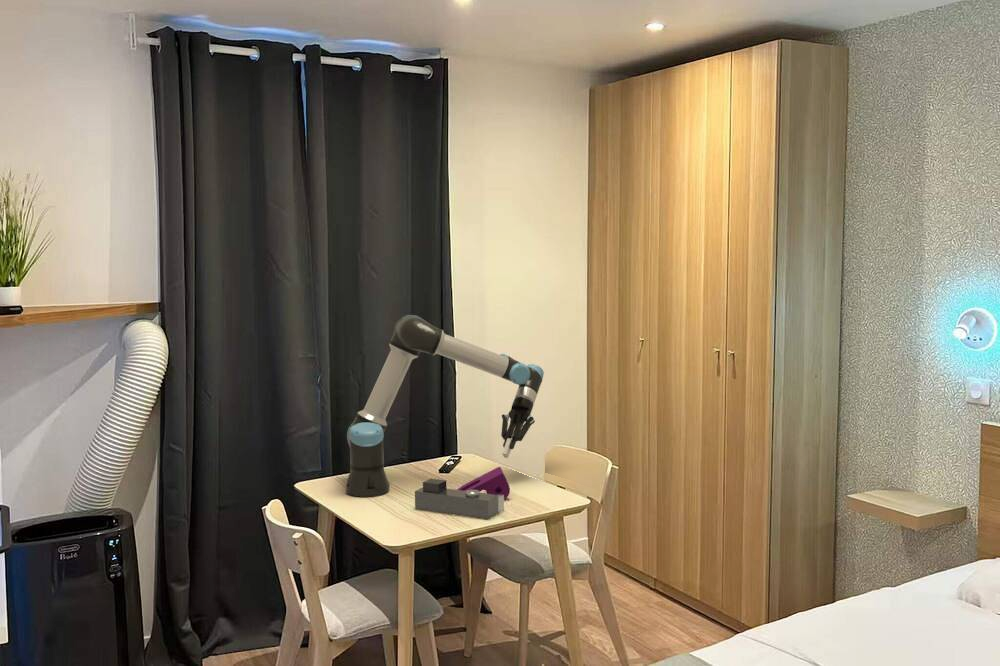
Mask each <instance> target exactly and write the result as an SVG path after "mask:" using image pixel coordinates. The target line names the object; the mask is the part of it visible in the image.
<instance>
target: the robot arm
mask: <svg viewBox="0 0 1000 666" xmlns="http://www.w3.org/2000/svg"><path fill="white" fill-rule="evenodd" d="M388 344H389V348H390V351H389V353H388V355H387V358H386V360H385V362H384V365H383V366H382V369H381V371H380V372H379V374H378V375H379V376H378V377H377V380H376V381H375V384H374V386H373V388H372V391H371V393H370V395H369V397H368V399H367V402H366V404H365V406H364V408H363V409H362V410H360V411H357V414H356V415H355V418H354V420H353V421H352V423H350V426H348V429H347V432H346V441H347V443H348V447H349V458H350V461H349V464H350V465H349V466H350V471H349V474H348V478H347V482H346V484H345V493H346V495H348V494H349V495H348V496H351V495H353V496H352V497H356V496H360V497H359V498H370V497H369V496H372V497H377V496H378V495H379V496H381V495H386V494H387V493H389V492H390V482H389V481H388V479H389V478H388V477H387V473H386V471H385V460H384V459H385V458H384V436H385V434H384V432H385V430H386V429H387V426H388V422H387V420H386V418H387V416H388V414H389V412H390V409H391V407H392V405H393V403H394V400H395V399H396V396H397V394H398V392H399V389H400V388H401V385H402V383H403V381H404V379H405V376H406V375H407V372H408V370H409V368H410V366H411V363H412V361H413V360H414V359H418V358H419V357H420V354H421V352H422V353H425V354H429V355H431V356H435V355H440V356H442V357H445V358H447V359H450V360H453V361H456V362H458V363H460V364H463V365H466V366H469V367H471V368H474V369H477V370H480V371H482V372H485V373H488V374H490V375H494V376H496V377H499V378H501V379H504V380H507V381H509V382H512V383H513V384H516V385H518V388H517V391H516V394H515V397H514V399H513V402H512V403H511V407H510V408H511V409H510V410H509V411H508V413H507V414H502V415H501V418H502V424H501V433H500V434H501V435H500V436H501V437H502V439H503V440H504V442H503V443H502V446H503V449H502V453H501V454H502V456H503V457H504V458H505V459H506V458H507V459H509V457H510V454H511V451H512V450H514V449H515V445H516V443H517V442H522V441H523V439H524V438H525V436H526V434H527V433H528V431H529V429H530V428H531V426H532V425H533V424H535V422H536V420H535V419H534V417H533V416H531V414H532V412H533V407H534V405H535V402H536V399H537V396H538V393H539V390H540V387H541V385H542V382H543V379H544V373H545V372H544V369H543V368H542V367H540V365H536V364H534V363H532V364H531V363H530V364H528V365H526V364H525V363H522V362H520V361H518V360H517V359H514V358H512V357H511V356H510V355H507V354H506V353H501V354H499V353H496V352H493V351H491V350H488V349H485V348H483V347H481V346H477V345H475V344H472V343H470V342H467V341H464V340H462V339H460V338H458V337H454V336H451V335H448V334H446V333H445V332H444V330H443V329H441V328H438V327H436V326H434V325H432V324H431V323H429V322H427V321H426V320H425V319H423V318H422V317H420V316H419V315H416V314H407V315H405V316H403V317H401V318H400V319H399V320H397V321H396V323H395V326H394V331H393V334H392V337H391V338H390V341H389V343H388Z"/></svg>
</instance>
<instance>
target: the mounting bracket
mask: <svg viewBox="0 0 1000 666" xmlns="http://www.w3.org/2000/svg"><path fill="white" fill-rule="evenodd" d="M508 482H509V481H508V480H507V477H506V475H505V474H504V471H503V470H502V468H501V466H497V467H496V468H494V469H491V470H490V471H488V472H486V473H485V474H482V475H480V476H478V477H475V478H474V479H473V480H470V481H469V482H467V483H465V484H463V485H462V486H460V487H458V488H457V489H456V490H462V491H467V490H478V491H479V493H481V492H483V491H485V492H486V493H485V494H493V495H498V494H499V495H504V501H505V500H506V499H507V498H508V497H509V495H510V492H511V488H510V484H509V483H508Z"/></svg>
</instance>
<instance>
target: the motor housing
mask: <svg viewBox="0 0 1000 666" xmlns="http://www.w3.org/2000/svg"><path fill="white" fill-rule="evenodd" d="M447 485H448V484H447V480H445V479H437V478H428V479H427V480H424V481H423V482H422V487H421V488H418V489H416V490H415V491H414V509H415V510H421V511H427V512H432V513H433V512H434V513H439V512H441V513H440V514H446V513H448V515H453V514H455V516H460V515H461V516H462V515H463V516H462V517H467V516H469V517H468V518H474V517H476V518H475V519H481V518H483V519H482V520H488V519H489V520H490V519H492V518H493V516H494V517H495V516H497V515H498V513H499V512H500V513H502V512H504V511H505V500H504V495H499V494H498V495H493V494H487V493H483V492H479V491H478V490H467V491H462V490H457V489H453V488H447ZM501 511H502V512H501ZM500 513H499V514H500ZM496 514H497V515H496ZM491 517H492V518H491Z"/></svg>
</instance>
